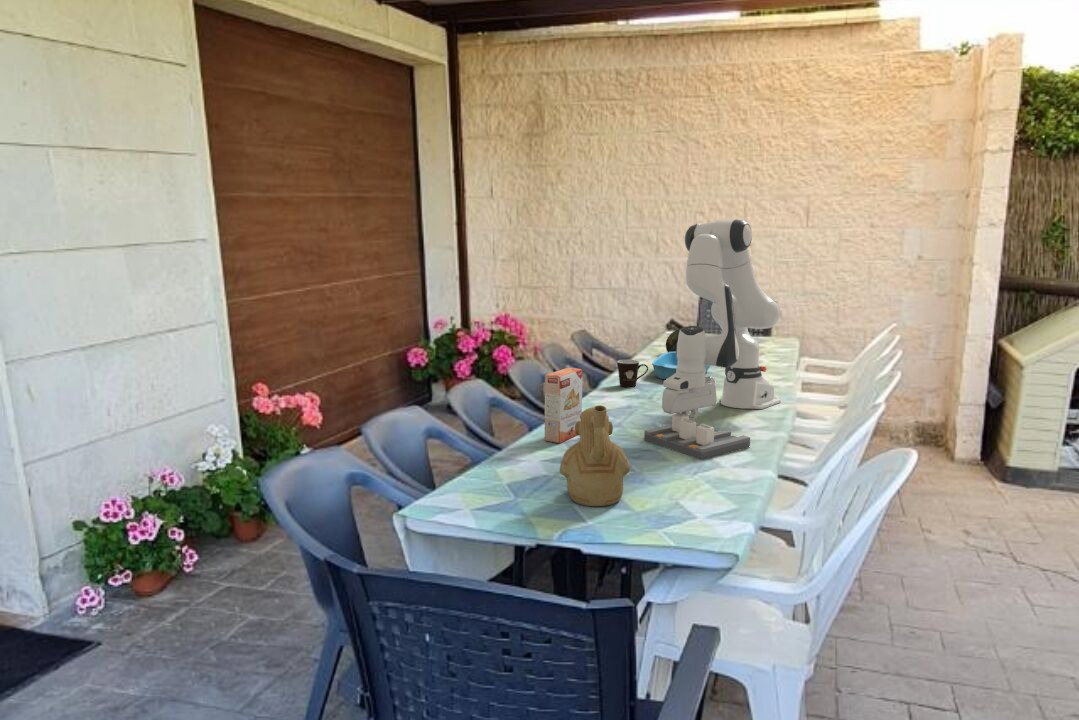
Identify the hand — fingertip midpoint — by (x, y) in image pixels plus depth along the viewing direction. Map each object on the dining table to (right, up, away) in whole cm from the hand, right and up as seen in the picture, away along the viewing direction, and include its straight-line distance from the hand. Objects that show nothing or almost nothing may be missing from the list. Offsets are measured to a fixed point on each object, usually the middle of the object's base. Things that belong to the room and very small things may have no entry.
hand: (689, 423), depth 243 cm
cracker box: (-39, -5, +1) cm, 39 cm away
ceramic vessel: (-33, -14, -51) cm, 62 cm away
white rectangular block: (-2, -4, -9) cm, 10 cm away
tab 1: (-3, -2, -2) cm, 4 cm away
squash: (+22, +22, +136) cm, 140 cm away
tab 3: (+2, -5, -15) cm, 16 cm away
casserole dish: (+15, +13, +93) cm, 95 cm away
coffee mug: (-10, +9, +71) cm, 72 cm away
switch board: (+1, -6, -7) cm, 9 cm away
